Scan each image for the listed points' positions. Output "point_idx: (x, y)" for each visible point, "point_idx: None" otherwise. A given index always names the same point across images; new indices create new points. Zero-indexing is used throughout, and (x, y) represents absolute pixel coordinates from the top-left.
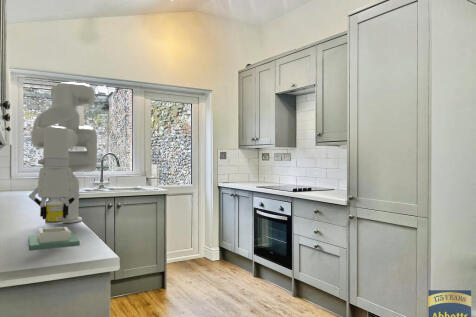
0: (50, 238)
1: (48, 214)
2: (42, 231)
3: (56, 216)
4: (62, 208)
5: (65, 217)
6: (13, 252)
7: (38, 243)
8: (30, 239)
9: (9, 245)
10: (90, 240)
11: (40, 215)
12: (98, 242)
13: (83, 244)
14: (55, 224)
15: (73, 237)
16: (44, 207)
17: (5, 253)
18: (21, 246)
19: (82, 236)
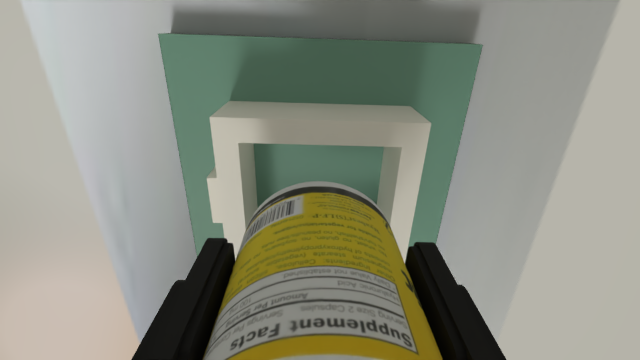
0: (349, 109)
1: (396, 261)
2: (399, 189)
3: (307, 219)
4: (217, 328)
5: (213, 239)
6: (568, 10)
7: (420, 89)
8: (434, 222)
9: (524, 205)
10: (108, 139)
11: (464, 289)
12: (45, 52)
13: (144, 36)
14: (315, 183)
15: (203, 175)
16: (481, 355)
17: (613, 4)
18: (483, 156)
19: (164, 257)
